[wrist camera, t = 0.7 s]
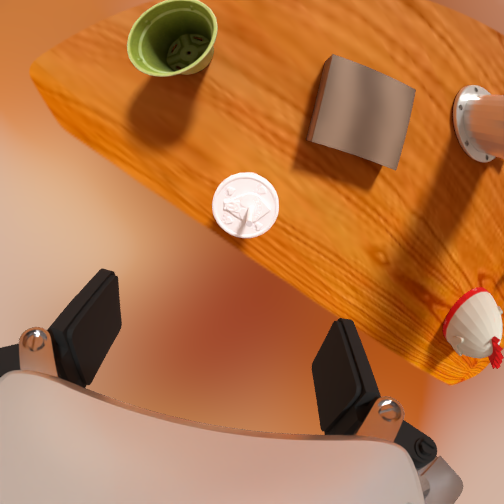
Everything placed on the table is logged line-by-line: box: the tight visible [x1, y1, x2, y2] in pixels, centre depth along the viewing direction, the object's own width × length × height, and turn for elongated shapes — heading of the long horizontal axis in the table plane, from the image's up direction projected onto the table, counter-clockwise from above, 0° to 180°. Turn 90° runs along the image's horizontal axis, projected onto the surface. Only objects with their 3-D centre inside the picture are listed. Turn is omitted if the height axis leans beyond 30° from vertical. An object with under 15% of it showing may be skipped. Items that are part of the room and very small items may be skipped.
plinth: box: [306, 54, 416, 170], centre depth 28 cm, size 11×11×4 cm
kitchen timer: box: [443, 288, 504, 369], centre depth 36 cm, size 14×14×15 cm
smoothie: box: [212, 172, 279, 238], centre depth 28 cm, size 6×6×14 cm
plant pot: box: [127, 0, 218, 77], centre depth 23 cm, size 9×9×9 cm
